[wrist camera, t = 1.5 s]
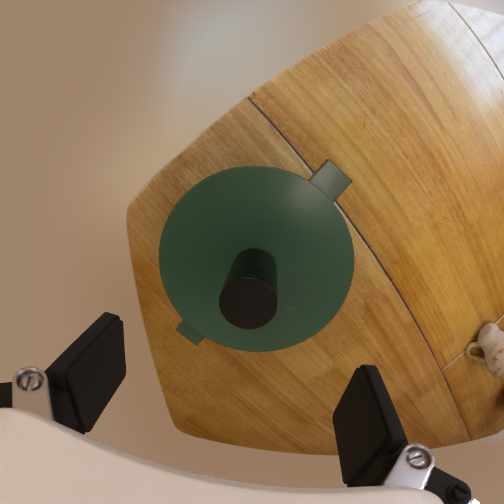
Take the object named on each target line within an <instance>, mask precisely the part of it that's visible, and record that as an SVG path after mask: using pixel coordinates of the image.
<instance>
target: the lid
mask: <svg viewBox="0 0 504 504" xmlns="http://www.w3.org/2000/svg"><path fill="white" fill-rule="evenodd" d="M159 267H160V274H161V278H162V282H163V286H164V288H165V291H166V293H167V296H168V298H169V299H170V301H171V303H172V305H173V306H174V308H175V309H176V311H177V312H178V313H179V315H180V316H181V317H182V318H183V319H184V320H185V321H186V322H187V323H188V324H189V325H190V326H191V327H192V328H193V329H195V330H196V331H197V332H198V333H200V334H201V335H203V336H204V337H206V338H208V339H210V340H212V341H214V342H216V343H218V344H221V345H223V346H226V347H229V348H233V349H237V350H243V351H250V352H265V351H275V350H280V349H284V348H287V347H291V346H294V345H296V344H298V343H301V342H303V341H305V340H307V339H308V338H310V337H312V336H313V335H315V334H316V333H317V332H319V331H320V330H321V329H322V328H324V327H325V326H326V325H327V324H328V323H329V322H330V321H331V320H332V319H333V317H334V316H335V315H336V313H337V312H338V311H339V309H340V308H341V306H342V304H343V302H344V301H345V299H346V296H347V294H348V291H349V289H350V286H351V282H352V278H353V271H354V249H353V244H352V238H351V235H350V232H349V229H348V226H347V224H346V222H345V220H344V218H343V216H342V214H341V213H340V211H339V210H338V208H337V207H336V206H335V204H334V203H333V202H332V201H331V200H330V198H329V197H328V196H327V195H326V194H325V193H324V192H323V191H321V190H320V189H319V188H318V187H316V186H315V185H314V184H312V183H311V182H309V181H307V180H306V179H304V178H302V177H300V176H298V175H296V174H294V173H291V172H289V171H285V170H282V169H278V168H274V167H266V166H243V167H236V168H231V169H228V170H224V171H221V172H218V173H216V174H214V175H212V176H209V177H207V178H205V179H204V180H202V181H201V182H199V183H198V184H196V185H195V186H194V187H192V188H191V189H190V190H189V191H188V192H187V193H185V194H184V196H183V197H182V198H181V199H180V200H179V201H178V203H177V204H176V205H175V207H174V208H173V210H172V211H171V213H170V215H169V217H168V219H167V221H166V223H165V225H164V229H163V232H162V235H161V240H160V246H159Z"/></svg>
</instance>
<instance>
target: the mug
mask: <svg viewBox="0 0 504 504" xmlns="http://www.w3.org/2000/svg"><path fill="white" fill-rule="evenodd" d="M474 347H479V348H481V349H483V351H484V357H480V356H476V355H473V354H472V353H470V350H471V349H472V348H474ZM466 354H467V356H468V357H470V358H471V359H474V360H476V361H478V362H481V363H482V364H483V365H485V366H486V367H487V369H488V371H489V373H490V374H491V375H493V376H494V377H496V378H503V377H504V332H503V331H501V330H500V329H499V328H498V326H497V325H496V324H495V323H489V324H486V325H485V326H483V327H482V329H481V330H480V332H479V335H478V342H472V343H470V344H468V346H467V348H466Z"/></svg>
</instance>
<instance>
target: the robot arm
mask: <svg viewBox="0 0 504 504" xmlns="http://www.w3.org/2000/svg"><path fill="white" fill-rule="evenodd" d="M125 375H126V362H125V349H124V331H123V321H121V320H120V318H119V316H118V315H114V314H111V313H108V312H105V313H103V314H102V315H101V316H100V317H99V318H98V319H97V320H96V321H95V322H94V323H93V324H92V325H91V326H90V327H89V328H88V329H87V330H86V331H85V332H84V333H82V334H81V335H80V337H78V338H77V339H76V340H75V341H74V342H73V343H72V344H71V345H70V346H69V347H68V348H67V349H66V350H65V351H64V352H63V353H62V354H61V355H60V356H59V357H58V358H57V359H56V360H55V361H54V362H53V363H52V364H51V365H50V366H49V367H48V368H47V369H46V370H45V371H43V370H41V369H39V368H37V367H25V368H22V369H20V370H18V371H17V372H16V373H15V375H14V377H13V380H12V382H8V383H0V504H480V503H479V502H478V501H477V500H475V499H474V500H473V501H471V500H470V499H471V490H470V488H469V487H468V485H467V484H466V483H464V482H463V481H461V480H459V479H457V478H455V477H453V476H451V475H449V474H447V473H446V472H444V471H441V470H440V469H438V468H436V467H434V463H435V457H434V455H433V453H432V451H431V450H430V449H429V448H428V447H426V446H425V445H422V444H419V443H413V444H408V441H407V438H406V435H405V433H404V430H403V428H402V425H401V423H400V420H399V418H398V415H397V413H396V410H395V408H394V405H393V403H392V401H391V398H390V396H389V394H388V391H387V389H386V387H385V384H384V382H383V380H382V377H381V375H380V373H379V371H378V368H377V367H376V366H375V365H361V366H360V368H356V370H355V372H354V374H353V376H352V378H351V380H350V382H349V384H348V386H347V388H346V390H345V392H344V394H343V396H342V398H341V400H340V402H339V403H338V405H337V407H336V409H335V411H334V413H333V424H334V430H335V436H336V441H337V447H338V453H339V459H340V465H341V472H342V478H343V482H344V484H347V488H302V487H284V486H271V485H262V484H253V483H246V482H239V481H232V480H227V479H221V478H216V477H211V476H206V475H201V474H197V473H193V472H188V471H184V470H180V469H177V468H173V467H170V466H166V465H163V464H159V463H155V462H153V461H149V460H146V459H144V458H140V457H137V456H135V455H132V454H129V453H127V452H124V451H121V450H119V449H116V448H114V447H111V446H108V445H106V444H104V443H101V442H99V441H97V440H94V439H92V438H90V437H87V436H85V435H84V434H85V432H90V431H91V429H92V428H93V426H94V425H95V423H96V421H97V420H98V418H99V416H100V415H101V413H102V412H103V410H104V409H105V407H106V406H107V404H108V402H109V401H110V399H111V398H112V396H113V395H114V393H115V392H116V390H117V388H118V387H119V385H120V384H121V382H122V381H123V379H124V378H125Z"/></svg>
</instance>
